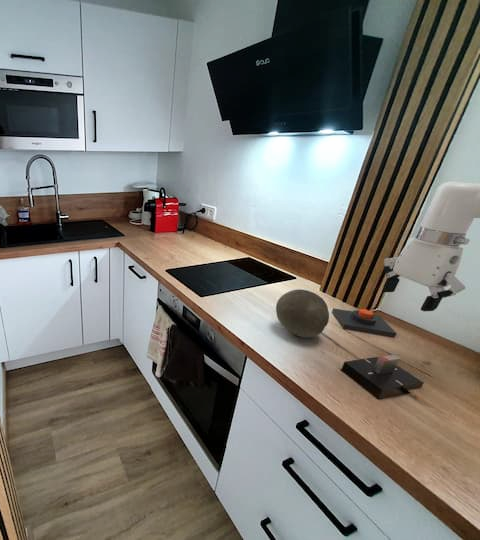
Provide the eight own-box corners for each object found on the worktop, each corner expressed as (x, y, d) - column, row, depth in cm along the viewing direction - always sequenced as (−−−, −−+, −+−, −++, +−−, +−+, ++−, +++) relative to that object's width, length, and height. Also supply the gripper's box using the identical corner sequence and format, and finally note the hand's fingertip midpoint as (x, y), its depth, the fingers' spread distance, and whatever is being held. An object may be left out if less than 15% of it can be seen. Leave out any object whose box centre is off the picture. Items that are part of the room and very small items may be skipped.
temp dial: (387, 368, 75) (394, 353, 73) (393, 372, 73) (400, 357, 71) (372, 370, 74) (379, 356, 72) (377, 374, 72) (385, 360, 70)
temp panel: (378, 364, 80) (382, 355, 79) (418, 391, 72) (424, 382, 70) (340, 370, 78) (344, 361, 77) (377, 399, 69) (383, 389, 68)
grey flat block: (376, 323, 100) (381, 311, 98) (392, 341, 91) (399, 328, 89) (330, 315, 104) (334, 303, 102) (341, 332, 94) (346, 319, 92)
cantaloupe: (303, 321, 100) (316, 283, 94) (330, 347, 87) (347, 305, 81) (263, 320, 100) (274, 282, 94) (284, 346, 87) (298, 303, 81)
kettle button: (368, 314, 97) (370, 310, 96) (373, 319, 93) (375, 315, 93) (355, 312, 98) (357, 308, 97) (360, 317, 94) (362, 313, 94)
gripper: (500, 249, 59) (458, 318, 66) (412, 227, 75) (385, 285, 82) (471, 249, 58) (431, 319, 65) (388, 227, 74) (363, 285, 81)
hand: (406, 300), depth 74 cm, fingers open, 9 cm apart
